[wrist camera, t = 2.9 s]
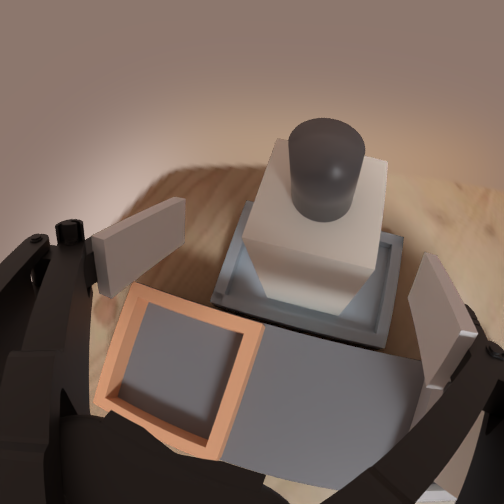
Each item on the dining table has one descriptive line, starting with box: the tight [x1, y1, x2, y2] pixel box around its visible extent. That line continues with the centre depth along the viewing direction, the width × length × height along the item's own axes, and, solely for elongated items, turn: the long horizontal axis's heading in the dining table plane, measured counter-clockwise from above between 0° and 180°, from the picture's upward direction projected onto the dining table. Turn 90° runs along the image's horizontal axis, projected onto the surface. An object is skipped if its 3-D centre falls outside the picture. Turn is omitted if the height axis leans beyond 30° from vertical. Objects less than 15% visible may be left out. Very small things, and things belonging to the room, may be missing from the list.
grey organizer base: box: [93, 281, 457, 502], centre depth 15 cm, size 29×9×4 cm, turn 73°
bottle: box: [241, 118, 388, 316], centre depth 15 cm, size 5×5×13 cm
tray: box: [210, 200, 404, 349], centre depth 20 cm, size 12×8×1 cm, turn 73°
